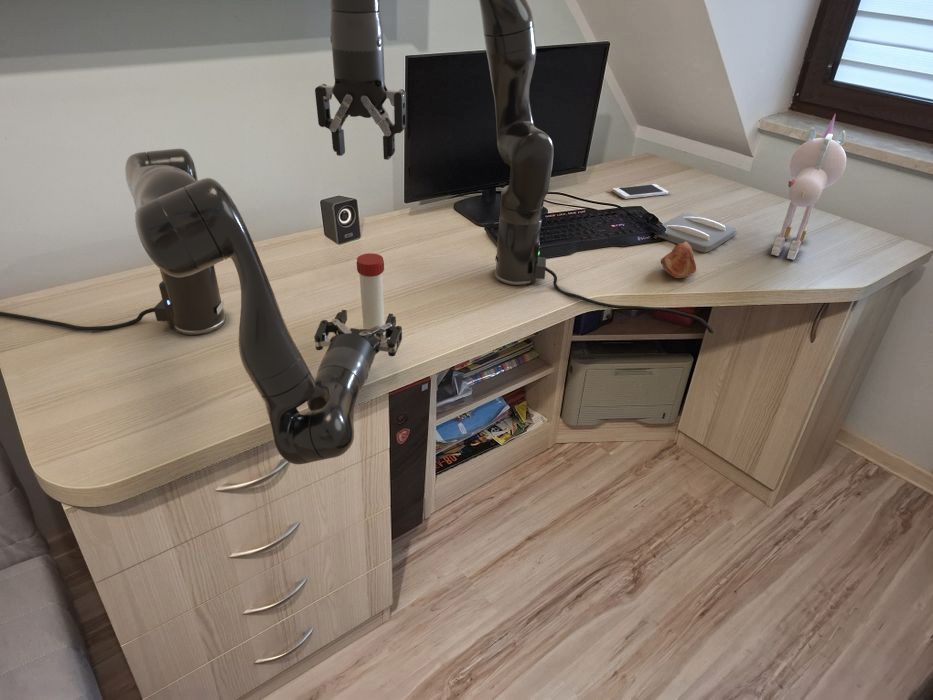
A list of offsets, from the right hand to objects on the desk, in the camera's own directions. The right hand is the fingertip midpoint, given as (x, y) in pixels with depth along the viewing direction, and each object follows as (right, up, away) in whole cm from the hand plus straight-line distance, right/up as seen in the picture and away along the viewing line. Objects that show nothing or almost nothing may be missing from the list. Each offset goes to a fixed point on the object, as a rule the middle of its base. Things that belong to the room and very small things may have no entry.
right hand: (364, 156), depth 103 cm
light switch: (+77, -1, +65) cm, 100 cm away
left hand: (-1, -25, +12) cm, 28 cm away
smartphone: (+69, +16, +91) cm, 115 cm away
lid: (-1, -15, +10) cm, 19 cm away
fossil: (+65, -13, +46) cm, 81 cm away
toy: (+102, -2, +65) cm, 121 cm away
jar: (-1, -29, +19) cm, 34 cm away
